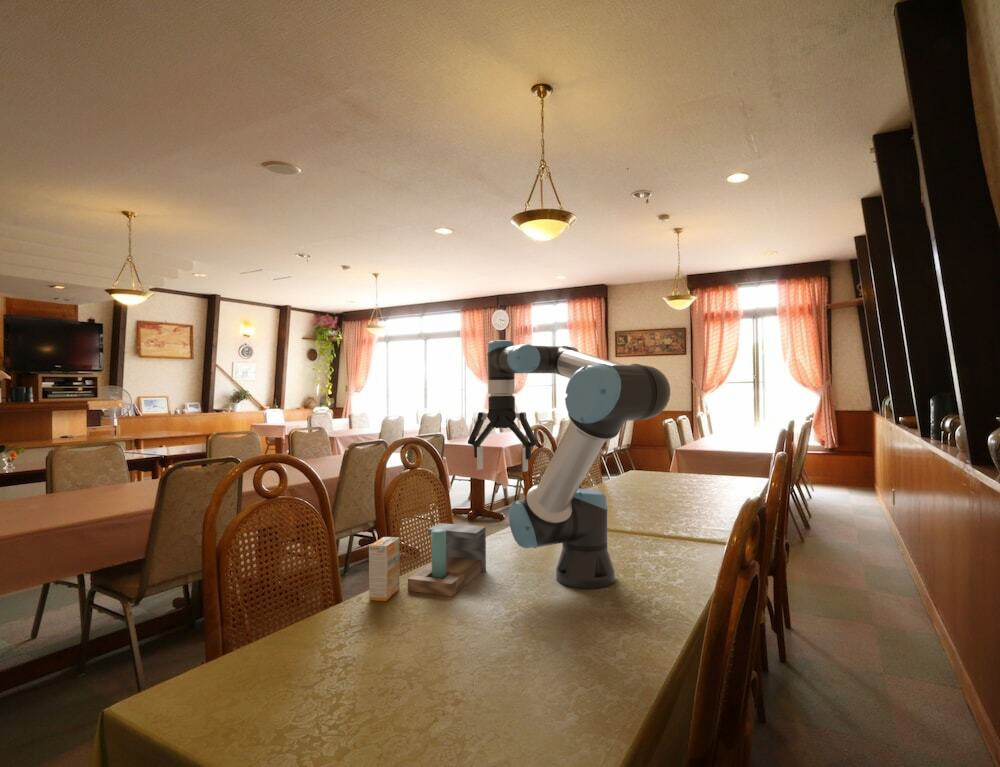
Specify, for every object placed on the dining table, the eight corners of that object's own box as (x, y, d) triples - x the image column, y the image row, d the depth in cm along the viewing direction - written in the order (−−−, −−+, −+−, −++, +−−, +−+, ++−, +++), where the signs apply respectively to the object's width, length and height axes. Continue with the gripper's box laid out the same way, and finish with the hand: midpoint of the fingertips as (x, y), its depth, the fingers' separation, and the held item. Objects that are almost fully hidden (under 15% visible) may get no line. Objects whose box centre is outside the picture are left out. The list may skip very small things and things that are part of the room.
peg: (448, 585, 139) (447, 529, 139) (442, 589, 136) (441, 533, 136) (436, 583, 140) (435, 528, 141) (429, 588, 137) (428, 532, 137)
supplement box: (387, 601, 129) (387, 546, 129) (368, 600, 130) (367, 545, 130) (400, 589, 137) (400, 536, 137) (382, 588, 138) (382, 535, 138)
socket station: (486, 570, 150) (485, 526, 150) (455, 596, 131) (455, 546, 131) (440, 565, 155) (439, 523, 155) (404, 590, 136) (403, 541, 136)
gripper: (547, 394, 154) (548, 470, 154) (466, 395, 163) (467, 466, 163) (540, 395, 147) (541, 474, 147) (455, 395, 156) (456, 470, 156)
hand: (502, 470), depth 155 cm, fingers open, 13 cm apart
